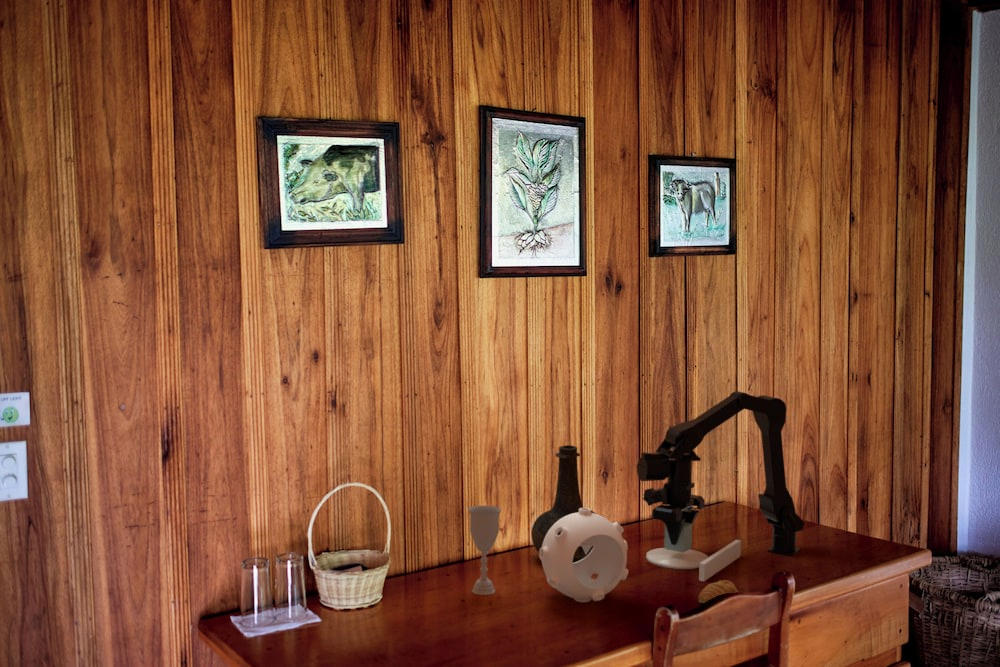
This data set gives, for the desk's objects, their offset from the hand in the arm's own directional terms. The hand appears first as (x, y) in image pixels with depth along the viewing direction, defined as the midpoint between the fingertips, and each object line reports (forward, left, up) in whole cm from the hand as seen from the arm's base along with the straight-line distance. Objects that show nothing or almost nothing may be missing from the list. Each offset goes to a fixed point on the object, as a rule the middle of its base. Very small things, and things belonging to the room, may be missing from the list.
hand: (678, 542), depth 229 cm
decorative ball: (+39, -5, -4) cm, 40 cm away
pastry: (+22, +19, -5) cm, 29 cm away
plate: (0, 0, -4) cm, 4 cm away
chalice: (+47, -25, -4) cm, 54 cm away
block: (0, 0, -2) cm, 2 cm away
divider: (0, +11, -4) cm, 12 cm away
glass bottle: (+17, -21, -5) cm, 27 cm away
